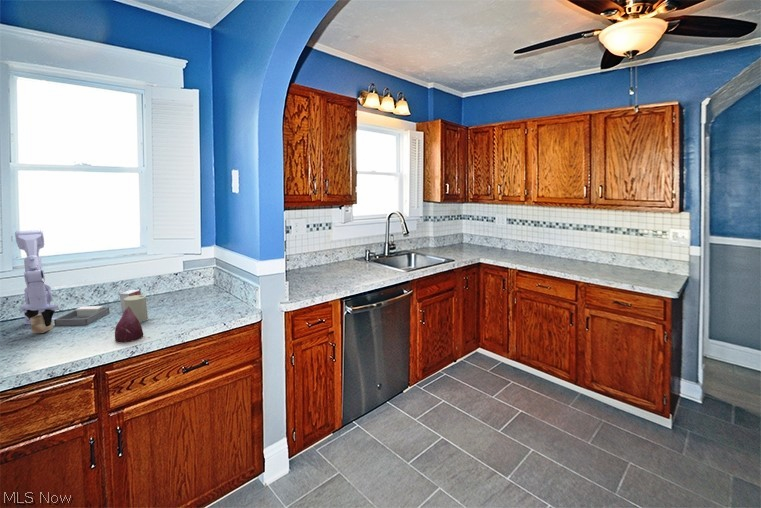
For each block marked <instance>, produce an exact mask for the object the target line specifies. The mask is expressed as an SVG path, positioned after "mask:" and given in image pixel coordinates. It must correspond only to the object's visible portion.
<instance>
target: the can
mask: <svg viewBox="0 0 761 508" xmlns="http://www.w3.org/2000/svg"><path fill="white" fill-rule="evenodd" d="M124 303H125V309H126V308H127V307H128V306H129V308H131V310H132V312H133V313H134V315H135V316H136V317H137V319H138V320H139V322H140V323H143V322H142V321H144V322H146V321H148V320H149V316H148V307H147V296H146V295H144V294H141V295H134V296H129V297H126V298H124ZM147 319H148V320H147ZM145 320H146V321H145Z"/></svg>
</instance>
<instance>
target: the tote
mask: <svg viewBox="0 0 761 508" xmlns="http://www.w3.org/2000/svg"><path fill="white" fill-rule="evenodd" d="M103 307H104V308H103V310H101V311H99V312H98V313H96V314H94V315H92V316H90V317H77V312H76V310H75V309H74V310H72V311H70V312H68V313H65V314H64V315H61V316H60V317H56V319H54V320H53V321H54V323H53V324H54V327H67V326H69V327H70V326H71V327H73V326H88V325H90V324H92V323H94V322H96V321H97V320H99V319H101V318H102V317H105V316H107V315H108V314H110V307H109V306H103Z"/></svg>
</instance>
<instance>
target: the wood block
mask: <svg viewBox="0 0 761 508" xmlns="http://www.w3.org/2000/svg"><path fill="white" fill-rule="evenodd" d="M30 321H31V324H30V327H31V332H32V334H44V333H46V332H48V331H50V330H52V329H54V323H53V320H51V325H49V326H46V325H45V321H44V318H43V316H42V314H38V315H36V316H34V317H31V318H30Z"/></svg>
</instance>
